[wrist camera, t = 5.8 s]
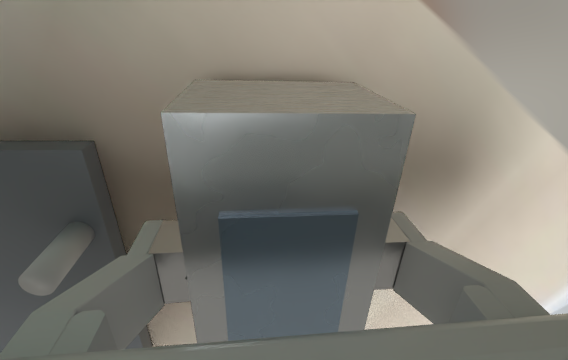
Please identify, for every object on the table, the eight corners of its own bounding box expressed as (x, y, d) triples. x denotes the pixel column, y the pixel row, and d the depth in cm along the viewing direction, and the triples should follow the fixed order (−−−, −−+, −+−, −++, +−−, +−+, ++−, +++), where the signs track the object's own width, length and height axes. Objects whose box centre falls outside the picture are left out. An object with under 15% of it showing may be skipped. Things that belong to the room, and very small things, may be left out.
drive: (326, 284, 14) (355, 378, 10) (216, 291, 13) (203, 393, 9) (353, 82, 10) (419, 115, 6) (195, 79, 9) (158, 114, 5)
